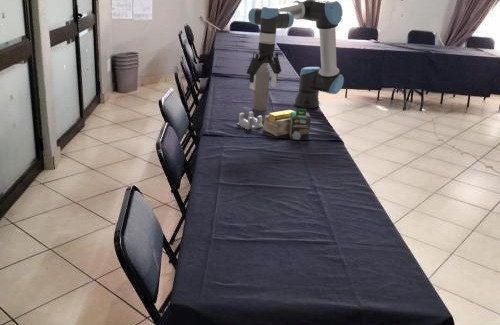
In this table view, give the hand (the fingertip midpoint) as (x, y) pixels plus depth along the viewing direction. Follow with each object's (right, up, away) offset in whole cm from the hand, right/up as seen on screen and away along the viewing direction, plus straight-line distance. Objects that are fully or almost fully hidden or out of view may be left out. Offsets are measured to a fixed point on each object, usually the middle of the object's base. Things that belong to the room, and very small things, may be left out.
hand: (262, 88), depth 214 cm
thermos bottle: (0, -4, +48) cm, 49 cm away
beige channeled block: (+10, -19, +14) cm, 26 cm away
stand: (-6, -17, +18) cm, 25 cm away
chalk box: (+18, -23, +7) cm, 30 cm away
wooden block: (+10, -15, +12) cm, 22 cm away
